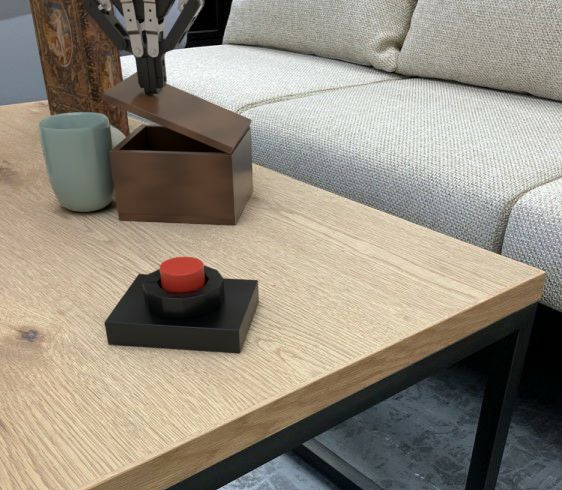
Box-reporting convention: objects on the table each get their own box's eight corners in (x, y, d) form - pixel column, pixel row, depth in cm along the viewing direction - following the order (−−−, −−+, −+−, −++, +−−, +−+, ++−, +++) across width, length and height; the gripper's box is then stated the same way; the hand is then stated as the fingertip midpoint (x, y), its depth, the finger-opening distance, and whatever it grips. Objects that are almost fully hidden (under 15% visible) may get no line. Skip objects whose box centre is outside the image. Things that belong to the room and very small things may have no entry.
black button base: (107, 345, 57) (100, 302, 55) (141, 295, 65) (136, 254, 62) (240, 354, 56) (237, 310, 54) (259, 301, 63) (257, 260, 61)
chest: (118, 220, 80) (108, 151, 76) (148, 186, 90) (141, 124, 85) (235, 225, 78) (231, 155, 74) (253, 190, 88) (251, 126, 84)
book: (135, 139, 108) (111, -50, 94) (103, 146, 105) (74, -48, 91) (82, 120, 118) (54, -53, 104) (52, 126, 115) (19, -52, 101)
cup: (127, 195, 87) (116, 111, 81) (112, 218, 81) (99, 129, 75) (65, 195, 87) (50, 112, 82) (46, 218, 81) (27, 129, 75)
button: (156, 293, 57) (153, 273, 56) (168, 274, 60) (166, 255, 59) (199, 295, 56) (197, 276, 55) (209, 276, 59) (208, 257, 58)
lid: (101, 100, 73) (102, 92, 72) (135, 77, 82) (137, 71, 82) (230, 154, 74) (232, 147, 74) (249, 126, 84) (251, 119, 83)
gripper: (208, -98, 70) (219, 86, 80) (82, -96, 72) (108, 84, 81) (189, -98, 64) (204, 101, 73) (52, -96, 65) (84, 99, 75)
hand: (153, 92), depth 77 cm, fingers closed
